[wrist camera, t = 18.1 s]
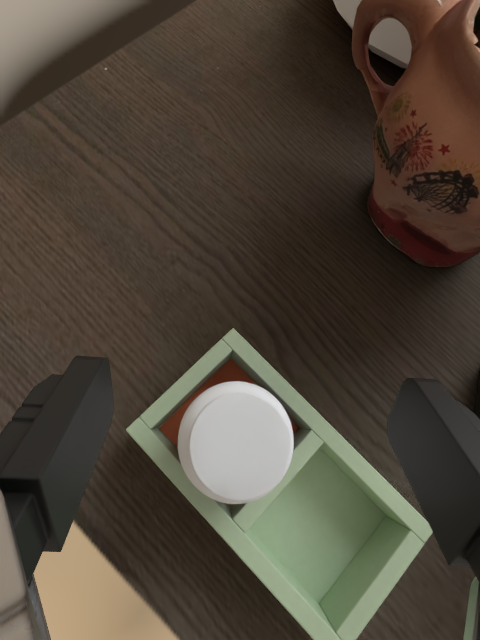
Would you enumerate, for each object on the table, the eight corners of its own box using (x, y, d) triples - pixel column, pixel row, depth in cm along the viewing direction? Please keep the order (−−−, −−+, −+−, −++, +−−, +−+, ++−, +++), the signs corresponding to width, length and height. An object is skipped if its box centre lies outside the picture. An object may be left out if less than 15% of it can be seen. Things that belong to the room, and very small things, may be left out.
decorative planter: (265, 176, 29) (311, -32, 15) (350, 90, 32) (451, -147, 18) (472, 335, 27) (736, 253, 13) (543, 226, 30) (817, 69, 16)
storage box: (317, 627, 21) (337, 666, 18) (137, 427, 23) (124, 429, 20) (403, 513, 23) (435, 529, 20) (230, 338, 25) (232, 327, 22)
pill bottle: (198, 381, 24) (188, 360, 14) (277, 399, 24) (320, 388, 14) (177, 468, 22) (152, 506, 13) (262, 486, 22) (298, 537, 13)
